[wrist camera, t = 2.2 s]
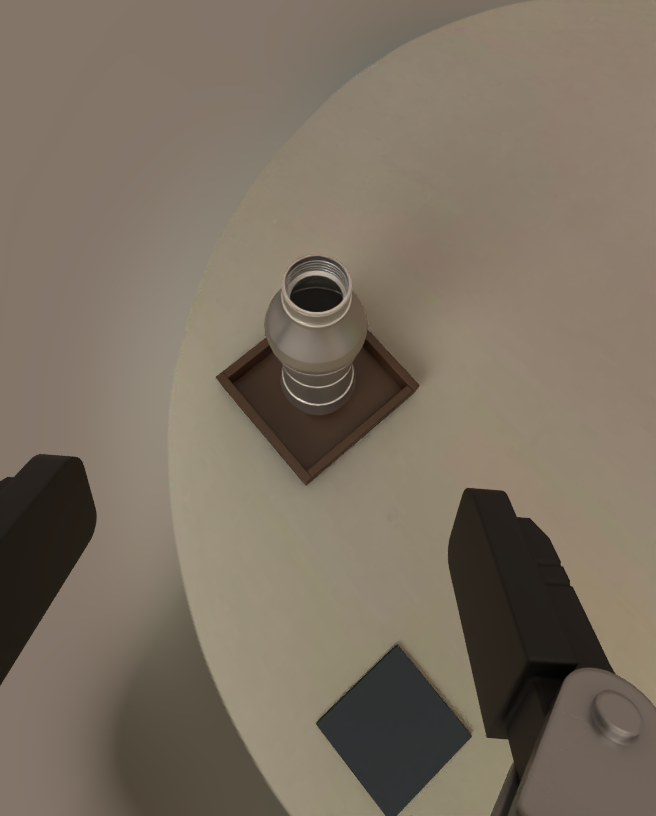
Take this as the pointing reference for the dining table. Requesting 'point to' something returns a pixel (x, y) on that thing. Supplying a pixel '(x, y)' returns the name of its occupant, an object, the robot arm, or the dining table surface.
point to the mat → (393, 731)
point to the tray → (316, 434)
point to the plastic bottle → (316, 333)
